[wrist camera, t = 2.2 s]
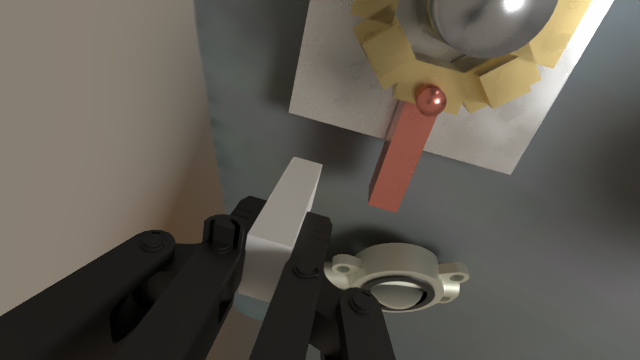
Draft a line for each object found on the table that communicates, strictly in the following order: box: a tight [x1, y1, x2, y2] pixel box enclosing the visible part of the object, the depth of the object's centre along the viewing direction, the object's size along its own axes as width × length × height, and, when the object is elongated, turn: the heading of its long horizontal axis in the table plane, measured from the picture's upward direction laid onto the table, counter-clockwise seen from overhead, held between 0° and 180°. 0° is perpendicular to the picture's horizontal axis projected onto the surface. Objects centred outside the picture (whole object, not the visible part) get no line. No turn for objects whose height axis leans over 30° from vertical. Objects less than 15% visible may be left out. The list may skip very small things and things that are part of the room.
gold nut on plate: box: [289, 0, 613, 175], centre depth 18 cm, size 20×18×12 cm
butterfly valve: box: [324, 243, 469, 312], centre depth 28 cm, size 9×20×17 cm
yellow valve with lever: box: [350, 0, 592, 213], centre depth 20 cm, size 20×12×5 cm, turn 167°
